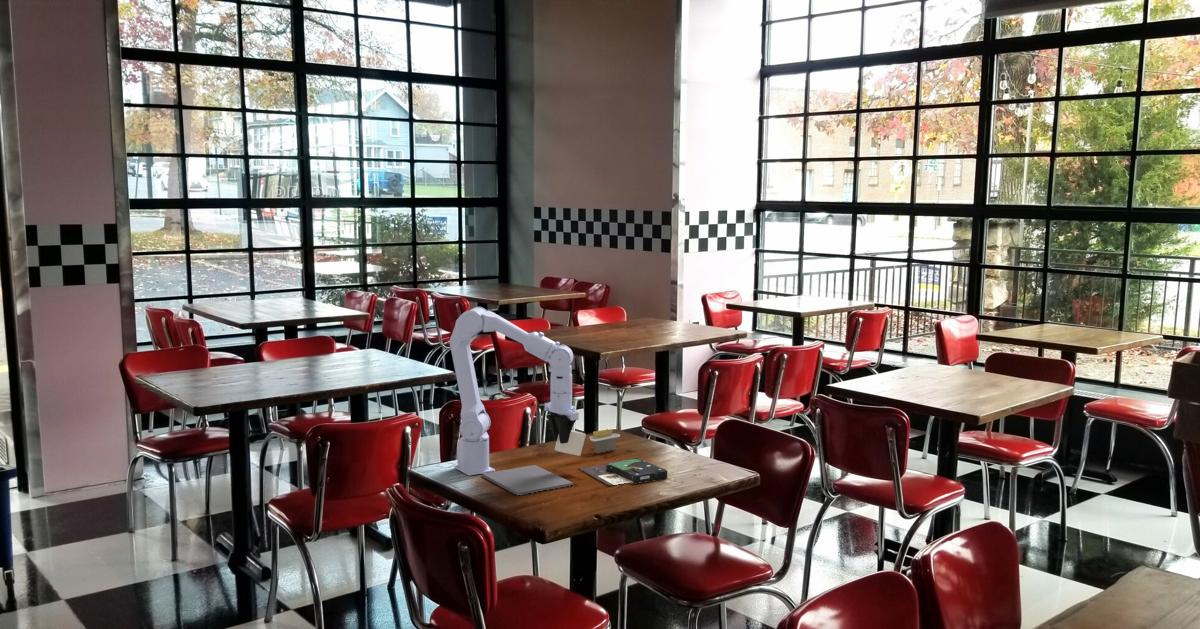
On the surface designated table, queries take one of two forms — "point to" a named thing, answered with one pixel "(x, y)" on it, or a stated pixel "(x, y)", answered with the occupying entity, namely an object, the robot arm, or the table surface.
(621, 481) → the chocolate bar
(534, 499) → the table surface
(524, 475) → the mat
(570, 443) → the tile
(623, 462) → the disk drive
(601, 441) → the grey rimmed container
